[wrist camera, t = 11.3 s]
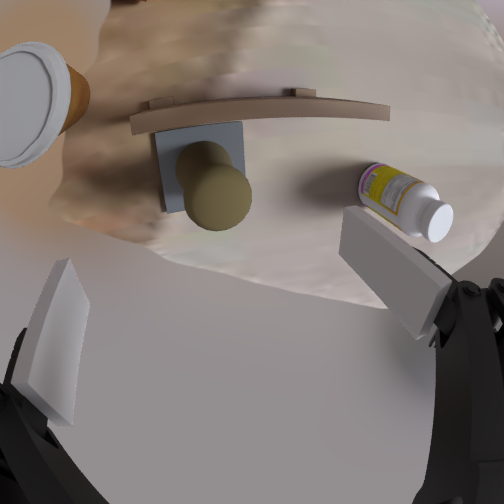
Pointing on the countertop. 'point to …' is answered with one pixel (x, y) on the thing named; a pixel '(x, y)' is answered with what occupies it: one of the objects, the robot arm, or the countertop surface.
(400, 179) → the supplement bottle
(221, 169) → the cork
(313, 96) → the screen
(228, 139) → the coaster
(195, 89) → the countertop surface
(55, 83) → the disposable coffee cup
